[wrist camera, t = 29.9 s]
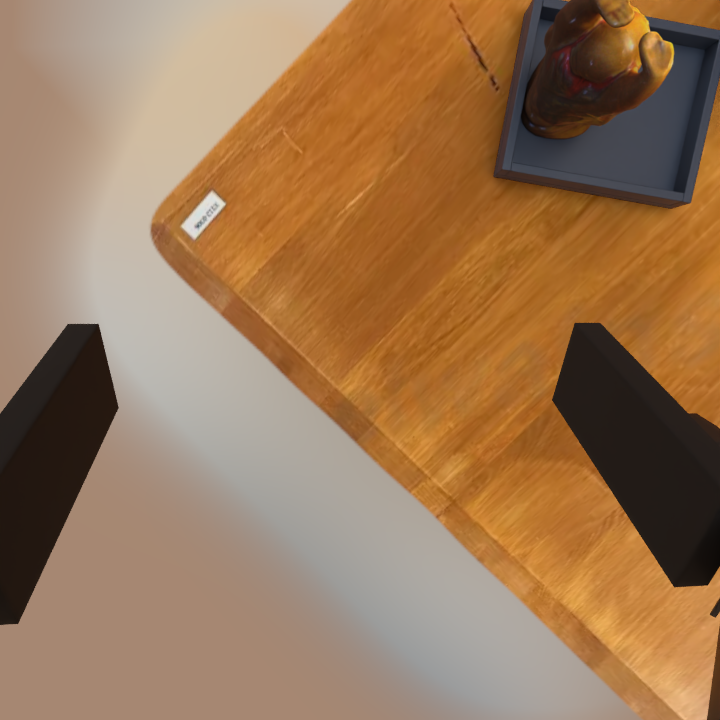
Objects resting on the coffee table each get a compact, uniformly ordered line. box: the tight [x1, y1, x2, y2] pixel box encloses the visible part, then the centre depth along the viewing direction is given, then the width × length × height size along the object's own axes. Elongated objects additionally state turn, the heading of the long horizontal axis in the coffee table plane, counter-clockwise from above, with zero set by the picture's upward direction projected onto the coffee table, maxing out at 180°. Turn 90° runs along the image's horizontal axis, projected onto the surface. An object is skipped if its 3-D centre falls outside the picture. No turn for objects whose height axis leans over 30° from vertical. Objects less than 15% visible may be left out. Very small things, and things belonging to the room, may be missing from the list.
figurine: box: [521, 0, 674, 139], centre depth 31 cm, size 6×7×13 cm
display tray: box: [494, 0, 720, 209], centre depth 37 cm, size 13×11×2 cm
